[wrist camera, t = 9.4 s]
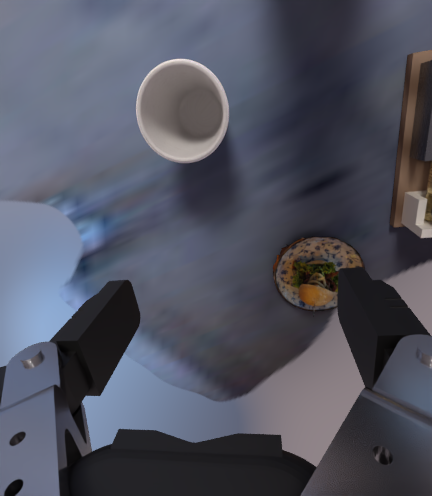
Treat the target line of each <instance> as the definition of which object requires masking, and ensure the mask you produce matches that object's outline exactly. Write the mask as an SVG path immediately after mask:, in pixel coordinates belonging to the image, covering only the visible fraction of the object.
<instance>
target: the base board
mask: <svg viewBox="0 0 432 496" xmlns="http://www.w3.org/2000/svg"><path fill="white" fill-rule="evenodd" d="M430 60H432V50H429V51H423V52H417V53H412V54H410V55H408V57H407V66H406V76H405V85H404V95H403V104H402V113H401V123H400V132H399V142H398V151H397V161H396V170H395V180H394V189H393V199H392V208H391V217H390V225H391V226H393V227H406V226H405V225H403V224H402V223H401V221H402V213H403V205H404V197H405V192H414V191H425V190H427V185H428V179H429V172H430V166H431V161H421V160H418V159H414V158H411V157H409V156H410V148H411V140H412V131H413V123H414V115H415V107H416V99H417V90H418V82H419V74H420V66H421V63H424V62H427V61H430Z"/></svg>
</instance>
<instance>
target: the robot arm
mask: <svg viewBox="0 0 432 496" xmlns="http://www.w3.org/2000/svg"><path fill="white" fill-rule="evenodd" d="M337 308H338V316H339V320H340V324H341V326H342V329H343V331H344V334H345V336H346V338H347V341H348V344H349V346H350V348H351V352H352V354H353V357H354V359H355V362H356V364H357V367H358V369H359V372H360V375H361V377H362V380H363V382H364V385H365V388H364V389H363V390H362V392H361V393H360V395H359V397H358V398H357V400H356V402H355V404H354V405H353V407H352V408H351V410H350V412H349V414H348V415H347V417H346V419H345V421H344V422H343V424H342V425H341V427H340V429H339V431H338V432H337V434H336V436H335V437H334V439H333V441H332V443H331V444H330V446H329V448H328V449H327V451H326V453H325V454H324V456H323V458H322V460H321V461H320V463H319V465H318V466H317V467H315V466H314V465H313V464H311V463H309V462H308V461H306V460H305V459H303V458H301V457H299V456H296V455H294V454H292V453H290V452H287V451H284V450H282V444H281V443H282V442H281V435H266V434H265V435H264V434H234V435H229V436H225V437H220V438H216V439H211V440H207V441H202V442H198V443H192V442H188V441H185V440H182V439H179V438H176V437H174V436H171V435H167V434H165V433H162V432H159V431H156V430H155V431H154V430H130V429H129V430H128V429H119V430H118V432H117V434H116V437H115V439H114V441H113V443H112V444H110V445H107V446H104V447H102V448H99V449H97V450H95V451H93V452H92V449H91V443H90V437H89V431H88V425H87V419H86V414H85V408H84V405H83V403H82V400H83V399H84V397H85V396H100V395H101V393H102V392H103V390H104V388H105V386H106V385H107V382H108V381H109V379H110V377H111V375H112V374H113V372H114V370H115V368H116V367H117V365H118V363H119V361H120V359H121V357H122V356H123V354H124V352H125V350H126V349H127V347H128V345H129V343H130V341H131V340H132V338H133V336H134V334H135V332H136V331H137V329H138V327H139V324H140V311H139V308H138V304H137V301H136V297H135V294H134V291H133V287H132V284H131V282H130V281H129V280H118V281H109V282H108V283H107V284H106V285H105V286H104V287H103V288H102V289H101V291H100V292H99V293H98V294H96V295H95V296H93V297H92V298H90V299H89V300H87V301H86V302H85V303H84V304H83V305H82V306H81V307H80V308H79V309H78V311H77V312H76V313H75V314H74V315H73V316H72V319H69V320H68V322H67V323H66V324H65V325H64V326H63V327H62V328H61V329H60V330H59V331H58V332H57V333H56V335H55V336H54V337H53V338H52V339H51V340H50V341H49V342H41V343H37V344H34V345H31V346H29V347H27V348H25V349H24V350H22V351H20V352H19V353H18V354H16V355H15V356H14V357H13V358H12V359H11V360H10V361H9V363H8V364H7V366H4V367H0V496H432V336H431V335H430V334H429V333H428V332H427V330H426V329H425V328H424V326H423V325H422V324H421V322H420V321H419V320H418V318H417V317H416V316H415V315H414V313H413V312H412V311H411V309H410V308H408V306H407V304H406V303H405V302H404V300H402V299H401V297H400V295H399V294H398V293H397V291H396V290H395V289H394V288H393V287H391V286H390V285H388V284H386V283H385V282H383V281H382V280H373V281H372V279H371V278H370V276H369V275H368V273H367V272H366V271H365V269H364V268H363V267H354V268H340V269H339V274H338V302H337Z"/></svg>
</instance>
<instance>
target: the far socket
mask: <svg viewBox="0 0 432 496" xmlns="http://www.w3.org/2000/svg"><path fill="white" fill-rule="evenodd" d="M426 192H427V190H425V191H414V192H405V197H404V205H403V213H402V221H401V223H402V224H403V225H405V226H406V227H407V228H408V229H410V230H411V231H412V232H414V233H415V234H416V235H418V236H419V237H420V238H430V237H432V221H428V220H425V219H424V217H425V211H426V204H427V199H426Z"/></svg>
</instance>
